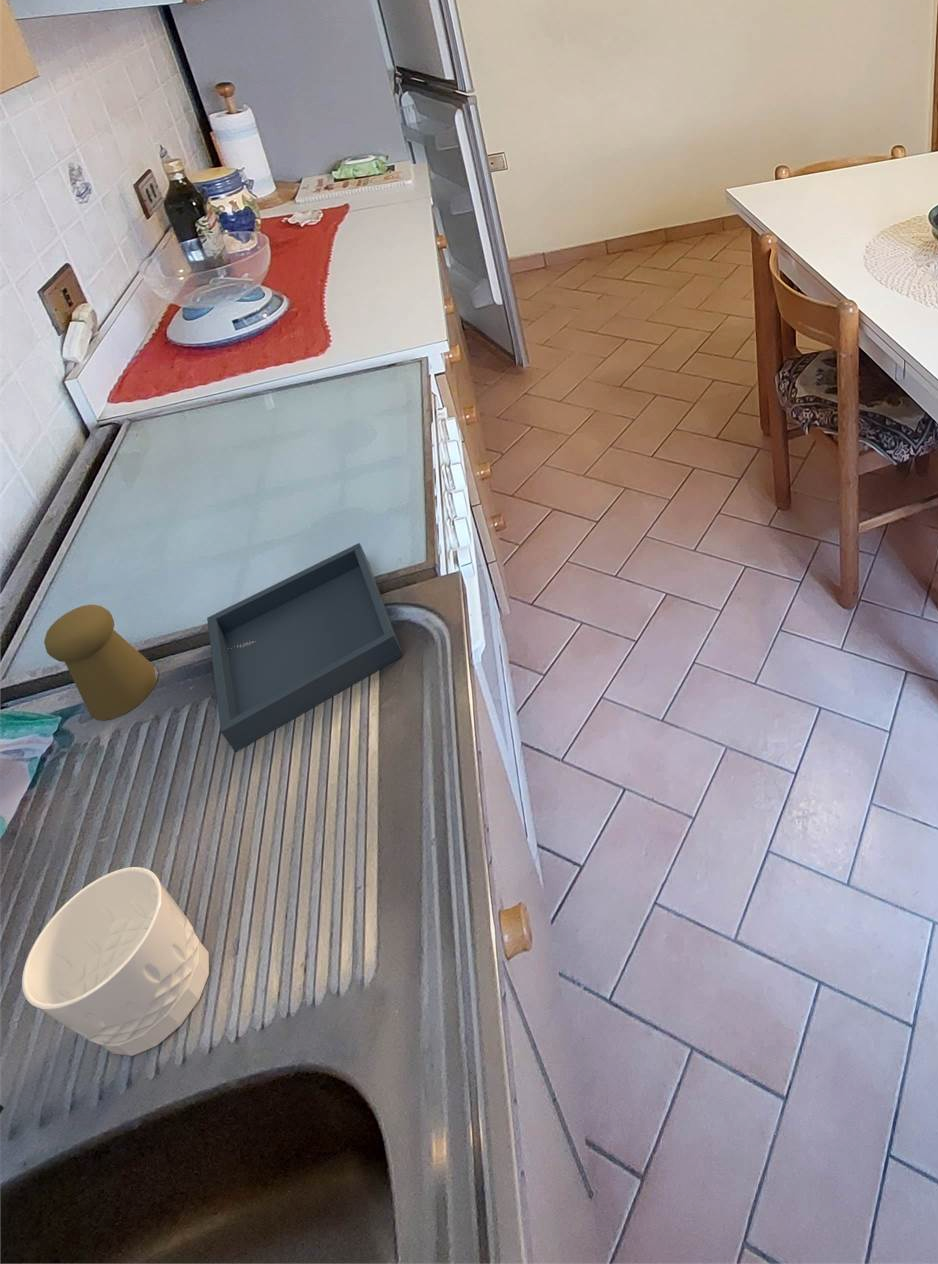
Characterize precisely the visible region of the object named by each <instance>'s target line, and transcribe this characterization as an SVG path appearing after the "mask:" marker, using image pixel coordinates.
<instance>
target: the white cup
mask: <svg viewBox="0 0 938 1264" xmlns="http://www.w3.org/2000/svg"><path fill="white" fill-rule="evenodd" d="M209 975H210V953H209V951H208V950H207V949H206V947H205V946H204V944H202V942H201V941H200V939H199V938H198V936H197V933H196V932H195V929H194V927H193V925H192V924H191V922H190V921H189V919H188V917H187V916H186V914H185V913H184V912H183V910H182V909H181V908H180V906H179V905H178V904H177V902H176V901H175V899H174V898H173V896H172V895H171V894H170V893H169V891H168V890H167V888H166V887H165V886H164V885H163V883H162V881H160V879H159V878H158V876H157V875H156V874H155V873H154V872H153V871H151V870H150V869H148V868H145V867H140V866H131V867H124V868H120V869H116V870H114V871H111V872H109V873H106V874H104V875H103V876H100V877H99V878H97V879H95V880H94V881H92V882H90V883H89V884H87V885H86V886H85V887H83V888H82V889H81V890H79V891H78V892H76V893H75V894H74V895H73V896H72V897H71V898H70V899H68V900H67V901H66V902H65V903H64V904H63V905H62V906H60V908H59V909H58V910H57V911H56V913H54V915H53V916H52V917H51V919H50V920H49V921H48V922H47V923H46V925H45V926H44V927H43V928H42V930H41V932H40V933H39V935H38V936H37V938H36V940H35V941H34V943H33V945H32V946H31V949H30V951H29V952H28V955H27V957H26V960H25V963H24V967H23V971H22V977H21V987H22V992H23V995H24V997H25V1000H27V1002H28V1003H29V1004H30V1005H31V1006H33V1007H35V1008H36V1009H38V1010H39V1011H41V1012H42V1013H44V1014H46V1015H47V1016H48V1017H50V1018H52V1019H53V1020H55V1021H56V1022H57V1023H60V1024H61V1025H63V1026H64V1027H66V1028H67V1029H69V1030H70V1031H72V1032H74V1033H76V1034H78V1036H79V1035H80V1036H81V1037H83V1038H85V1040H88V1041H90V1042H92V1043H94V1044H97V1045H99V1046H101V1047H103V1048H104V1049H106V1050H107V1051H109V1052H110V1053H111V1054H114V1055H121V1056H128V1057H133V1056H136V1055H139V1054H141V1053H143V1052H146V1051H148V1050H150V1049H153V1048H156V1047H158V1046H159V1044H161V1043H162V1042H164V1041H165V1039H167V1038H168V1037H169V1036H170V1035H171V1034H172V1033H174V1032H176V1030H177V1029H179V1028H180V1027H181V1026H182V1024H183V1023H184V1022H185V1020H186V1019H187V1018H188V1016H189V1015H190V1013H191V1012H192V1011H193V1009H194V1008H195V1006H196V1005H197V1004H198V1002H199V1001H200V998H201V996H202V994H203V991H204V988H205V987H206V983H207V980H208V978H209Z"/></svg>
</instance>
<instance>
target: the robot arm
mask: <svg viewBox="0 0 938 1264" xmlns="http://www.w3.org/2000/svg"><path fill="white" fill-rule="evenodd" d="M4 1108H5V1107H4V1106H3V1105H2V1104H0V1114H1V1113H2V1112H3V1110H4Z"/></svg>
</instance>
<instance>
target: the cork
mask: <svg viewBox="0 0 938 1264" xmlns="http://www.w3.org/2000/svg"><path fill="white" fill-rule="evenodd" d="M114 628H115V621H114V618H113V615H112V614H111V612H110V610H108V609H107V608H105V607H104V606H102V605H98V604H85V605H81V606H78V607H76V608H73V609H71V610H70V611H68V612H66V613H63V615H62V616H60V617H58V619H56V620H55V621H54V622H53V623H52V625H50V626H49V628H48V630H47V631H46V634H45V637H44V642H43V644H44V647H45V651H46V653H47V655H48V656H50V658H52V659H54V660H56V661H58V662H59V663H61V662H62V663H65V665H66V667H67V670H68V672H69V674H70V676H71V679H72V680H73V682H74V685H75V686H76V689H77V690H78V692H79V695H80V697H81V699H82V701H83V703H84V705H85V707H86V709H87V711H88V714H89V715H90V717H91V718H93V719H94V720H96V721H108V720H113V719H116V718H119V717H121V716H123V715H126V714H127V713H129V712H130V711H132V710H133V709H135V708H137V707H138V706H139V705H140V704H141V703H143V702H144V701H145V700H146V699H147V698H148V696H149V695H150V694H151V693H152V692H153V690H154V689H155V687H156V685H157V683H158V681H157V680H156V677H155V669H154V666H155V665H154V664H153V663H152V662H151V661H150V660H148V659H147V658H146V657H145V656H144V655H143V654H142V653H140V651H138V650H137V649H136V648H135V647H134V646H133V645H132V644H131V643H129V641H127V639H125V638H124V637H122V635H120V634H119V633H118V632H117V631H116V630H115V629H114ZM153 665H154V666H153Z"/></svg>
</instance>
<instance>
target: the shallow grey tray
mask: <svg viewBox="0 0 938 1264" xmlns="http://www.w3.org/2000/svg"><path fill="white" fill-rule="evenodd" d="M381 594H382V593H381V591H380V588H379V585H378V583H377V581H376V579H375V575H374V572H373V570H372V567H371V564H370V562H369V559H368V557H367V555H366V553H365V551H364V549H363V547H362V545H361V543H360V542H358V543H356V544H354V545H352V546H350V547H348V548H346V549H343V550H342V551H340V552H337V553H336V554H334V555H332V556H329V557H327V558H325V559H324V560H322V561H320V562H318V563H315V564H313V565H312V566H309V567H307V568H305V569H303V570H301V571H299V572H297V573H295V574H293V575H291V576H289V577H287V578H285V579H283V580H280V581H279V582H277V583H275V584H273V585H271V586H269V587H267V588H265V589H262V590H260V591H259V592H257V593H255V594H253V595H251V596H248V597H246V598H245V599H242V600H240V601H237V602H235V604H232V605H230V606H228V607H226V608H224V609H222V610H221V611H218V612H215V613H214V614H212V615H210V616H208V617H207V619H206V621H207V629H208V637H209V638H208V639H209V645H210V653H211V654H210V655H211V661H212V671H213V677H214V686H215V695H216V704H217V711H218V720H219V727H220V733H221V734H222V735H223V737H224V738H225V740H226V741H227V743H228V744H229V746H230V747H231V748H232V750H233V752H234V753H236V752H238V751H240V750H242V749H244V748H246V747H247V746H248V744H249V745H251V744H253V743H254V742H256V741H257V740H259V739H261V738H263V737H264V736H266V735H269V734H270V733H272V732H273V731H275V730H277V729H279V728H280V727H282V726H284V725H285V724H288V723H289V722H290V721H293V720H294V719H296V718H298V717H300V716H301V715H303V714H305V713H307V712H308V711H310V710H311V709H312V710H313V708H315V707H317V706H318V705H320V704H322V703H324V702H325V701H328V700H329V699H331V698H332V697H335V696H336V695H338V694H340V693H342V692H343V691H345V690H347V689H349V688H350V687H353V685H355V684H357V683H359V682H361V681H362V680H364V679H366V678H367V677H370V676H371V675H373V674H374V673H376V672H378V671H380V670H381V669H384V668H385V667H387V666H389V665H390V664H392V663H394V662H395V661H397V660H399V659H401V658H402V657H404V653H403V650H402V647H401V645H400V643H399V640H398V637H397V634H396V631H395V629H394V626H393V624H392V621H391V618H390V616H389V613H388V610H387V608H385V607H386V605H385V603H384V602H385V601H384V599H383V597H382V595H381ZM249 641H251V642H252V641H254V644H253V645H252V643H251V645H250V646H249V645H248V646H247V648H246V646H245V648H243V647H241V648H240V647H239V646H240V644H241V645H242V646H243V643H246V642H248V643H249ZM255 641H256V644H255ZM237 645H239V646H238V648H237ZM234 646H235V647H234ZM228 648H229V649H228ZM231 648H232V649H231ZM241 748H242V749H241ZM239 749H240V750H239ZM237 750H238V751H237Z"/></svg>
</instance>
